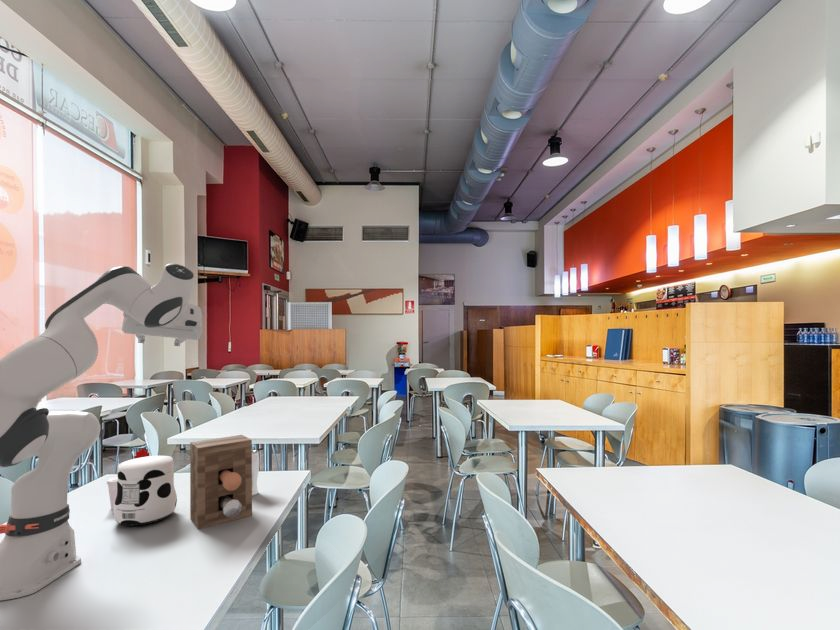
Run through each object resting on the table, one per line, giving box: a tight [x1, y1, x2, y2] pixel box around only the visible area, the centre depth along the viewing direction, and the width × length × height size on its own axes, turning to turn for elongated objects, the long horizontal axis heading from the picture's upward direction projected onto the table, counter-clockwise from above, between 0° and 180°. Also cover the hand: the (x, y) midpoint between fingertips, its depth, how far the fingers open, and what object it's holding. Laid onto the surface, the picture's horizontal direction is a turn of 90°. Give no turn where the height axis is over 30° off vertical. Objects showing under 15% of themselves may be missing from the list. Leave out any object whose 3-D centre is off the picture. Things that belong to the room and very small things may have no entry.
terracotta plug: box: [218, 469, 242, 491], centre depth 141 cm, size 8×5×5 cm, turn 38°
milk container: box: [112, 455, 178, 527], centre depth 147 cm, size 17×17×18 cm
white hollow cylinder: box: [252, 449, 260, 497], centre depth 168 cm, size 7×7×15 cm
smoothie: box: [106, 464, 119, 510], centre depth 158 cm, size 6×6×14 cm
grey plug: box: [218, 495, 242, 518], centre depth 141 cm, size 8×5×5 cm, turn 38°
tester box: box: [189, 434, 253, 530], centre depth 147 cm, size 10×16×24 cm, turn 128°
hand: (159, 343), depth 138 cm, fingers open, 8 cm apart
